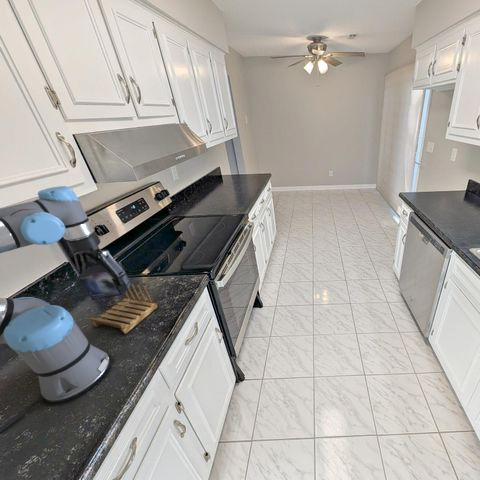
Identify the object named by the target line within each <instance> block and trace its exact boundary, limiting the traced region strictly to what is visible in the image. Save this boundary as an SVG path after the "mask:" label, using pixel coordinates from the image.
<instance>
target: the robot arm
mask: <svg viewBox="0 0 480 480" xmlns="http://www.w3.org/2000/svg"><path fill="white" fill-rule="evenodd" d="M37 195H38V198H36V199H35V200H30V201H27V202H23V203H18V204H14V205H10V206H6V207H1V208H0V254H2V253H7V252H11V251H14V250H18V249H20V248H21V249H22V248H24V247H28V246H33V245H36V246H37V245H38V246H40V245H41V246H43V245H44V246H45V245H47V246H48V245H52V244H55V243H58V242H59V241H60V240H61V239H62V238H63V240H66V243H67V245H68V247H69V249H70V252H71V254H72V256H73V259H74V262H75V266H76V270H77V272H78V273H82V272H83V271H84V270H85V269H86V268H88V267H90V266H94V265H95V266H96V265H99V266H100V267H102V268H103V269H104V270H105V271H106V272H107V273H108V274H109V275H110V276H111V277H112V281H113V283H114V284H115V286H116V288H117V290H118V292H119V293H120V294H121V295H120V296H123V295H122V294H123V293H125V292H126V291H128V290H129V289H128V287H127V285H126V284H125V282H124V280H123V278H122V276H123V275H124V274H126V275H127V272H126V271H125V269H124V268H123V269H124V270H123V269H122V268H121V267H120V266H119V264H118V263H117V262H118V261H116V259H115V258H114V257H113V256H112V255H111V253H110V251H109V250H108V249H104V250H102V249H101V248H100V247H99V245H100V244H101V239H100V236H98V233H97V232H95V231H96V230H95V228H94V226H93V224H92V221H91V220H90V219H89V217H88V215H87V213H86V211H85V209H84V206H83V205H82V203H81V200H80V198H78V196H77V194H76V192H75V191H74V189H73V188H71V186H68V185H67V186H66V185H59V186H53V187H47V188H44V189H40V190H39V191H38V192H37ZM124 271H125V272H124ZM0 344H2V345H3V344H4V345H5V344H6V345H7V346H8V347H9V348H11V349H12V350H13V351H14V352H15V354H17V355H18V356H19V357H20V359H22V360H23V362H24V363H26V365H27V366H28V367H29V368H30V369H31V370H32V371H33V372H34V373H35V375H36V376H37V377H38V384H39V389H40V390H39V391H40V394H41V396H40V397H39V398H37V399H36V400H35V401H33V402H32V403H30V404H29V405H28V406H26V408H24V409H23V410H22V411H20V412H19V413H18V414H17V415H16V416H14V417H12V419H11V420H10V421H8V422H7V423H5V424H4V425H3V426H1V427H0V433H2V432H3V431H4V430H6V429H7V428H9V427H10V426H11V425H12V424H14V423H15V422H16V421H17V420H18V419H20V418H21V417H22V416H23V415H24V414H26V413H27V412H28V411H29V410H30V409H32V408H33V407H35V406H36V405H37V404H39V402H41V401H42V400H43V399H44V400H45V401H46V402H48V403H51V404H60V403H64V402H67V401H70V400H73V399H75V398H77V397H80V396H81V395H82V394H84V393H86V392H88V391H89V390H90V389H92V388H93V387H94V386H96V385H97V384H98V383H99V382H100V381H101V380H102V379H103V378H104V377H105V375H106V374H107V373H108V371H109V369H110V367H111V358H110V356H109V355H108V353H107V352H105V351H104V350H102V349H100V348H98V347H96V346H94V345H93V344H91V343H90V341H89V340H88V339H87V337H86V335H85V334H84V333H83V332H82V330H81V329H80V327H79V326H78V325H77V323H76V322H75V320H74V318H73V316H72V314H71V313H70V312H69V311H68V310H67V309H65V308H64V307H63V306H60V305H55V304H51V303H49V302H48V301H47V300H44V299H40V298H37V297H29V296H25V297H24V296H23V297H17V298H7V297H0Z"/></svg>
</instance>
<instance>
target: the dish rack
mask: <svg viewBox="0 0 480 480" xmlns="http://www.w3.org/2000/svg"><path fill="white" fill-rule="evenodd" d="M131 284H132V285H131V287H130V288H129V290H128V292H127V293H126V294H125V295H124V296H125V297H124V298H122V299H121V301H119V302H117V303H116V305H113V306H111V308H110V309H107V310H106V311H105V312H104V313H102V314H100V315H99V317H96V318H95V317H90V318H89V320H90V321H91V322H92V325H93V326H94V327H95V328H98V327H100V326H102V325H104V326H108V327H112V328H117V329H120V331H121V333H122V335H123V334H124V335H126V334H127V333H128V332H130V331H131V330H132V329H134V327H136V326H137V325H138V324H139V323H141V322H142V321H143V320H144V319H146V317H148V316H149V315H150V314H151V313H152V312H154V311H155V310H156V309H157V308H158V305H157V303H156V302H153V300H152V298H151V296H150V294H149V291H148V290H147V287H146V286H145V285H142V289H143V291H144V293H145V295H144V293H143V291H142V289H141V286H140V285H139V284H136V287H135V285H134V284H133V283H131ZM136 288H137V290H138V291H137V290H136ZM131 289H132V290H131ZM132 291H133V292H132ZM138 292H139V294H140V295H139V294H138ZM128 293H129V294H128ZM133 293H134V294H133ZM129 295H130V296H129ZM134 295H135V296H134ZM140 296H141V297H140ZM145 296H146V297H145ZM130 297H131V298H130ZM135 297H136V298H135ZM141 298H142V300H141ZM147 299H148V301H149V302H148V301H147Z"/></svg>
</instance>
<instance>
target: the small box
mask: <svg viewBox="0 0 480 480" xmlns="http://www.w3.org/2000/svg"><path fill="white" fill-rule="evenodd" d="M116 262H117V263H118V264H119V266H120V267H121V268H122V269H123V270H124V272H125V273H126V271H125V268H124V267H123V264H122V262H121V261H116ZM77 278H78V279H79V281H80V283H81V284H82V286H83V288H84V289H85V290H86V292H87V294H88V295H89V297H90V299H91V300H92V301H96V300H97V301H98V300H103V299H108V298H113V297H118V296H125V294H126V293H127V294H128V293H129V292H128V291H126V292H125V293H123V294H122V295H121V294H120V293H119V292H118V290H117V288H116V286H115V284H114V283H113V281H112V277H111V276H110V275H109V274H108V273H107V272H106V271H105V270H104V269H103V268H102V267H100V266H99V265H96V264H95V265H92V266H90V267H88V268H86V269H85V270H84V271H83V272H82V271H81V272H80V274H79V275H78V276H77ZM122 278H123V280H124V282H125V284H126V285H127V287H128V289H129V288H130V289H131V288H132V287H131V285H132V284H133V283H132V282H131V280H130V279H129V276H128V275H127V273H126V274H124V275H123V276H122Z"/></svg>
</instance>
